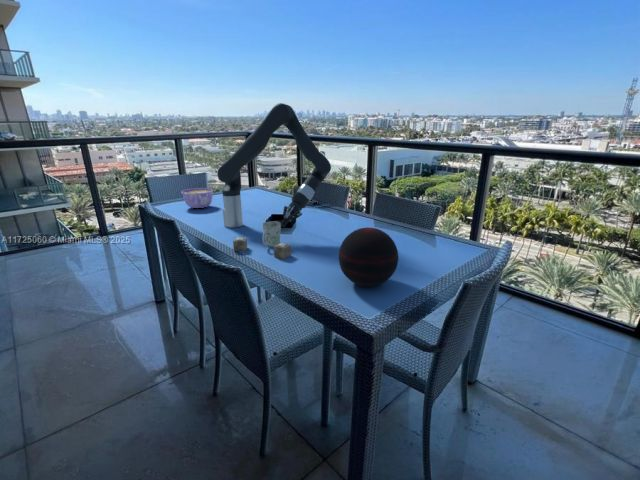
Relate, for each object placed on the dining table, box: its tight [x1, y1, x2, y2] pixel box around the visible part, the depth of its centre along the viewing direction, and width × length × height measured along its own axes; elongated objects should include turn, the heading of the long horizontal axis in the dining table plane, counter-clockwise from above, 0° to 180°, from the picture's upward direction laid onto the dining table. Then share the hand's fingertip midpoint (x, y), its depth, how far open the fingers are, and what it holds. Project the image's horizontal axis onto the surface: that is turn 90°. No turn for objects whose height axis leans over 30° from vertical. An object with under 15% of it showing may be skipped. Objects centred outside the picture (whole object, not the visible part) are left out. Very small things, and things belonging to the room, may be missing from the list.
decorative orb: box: [338, 227, 399, 288], centre depth 111 cm, size 20×20×20 cm
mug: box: [261, 220, 282, 248], centre depth 148 cm, size 8×13×10 cm, turn 161°
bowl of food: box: [181, 187, 214, 209], centre depth 217 cm, size 20×20×12 cm
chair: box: [291, 172, 315, 206], centre depth 229 cm, size 13×17×22 cm
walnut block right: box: [273, 242, 292, 260], centre depth 137 cm, size 5×5×5 cm
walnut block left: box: [232, 236, 248, 253], centre depth 145 cm, size 5×5×5 cm
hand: (282, 225), depth 150 cm, fingers closed
